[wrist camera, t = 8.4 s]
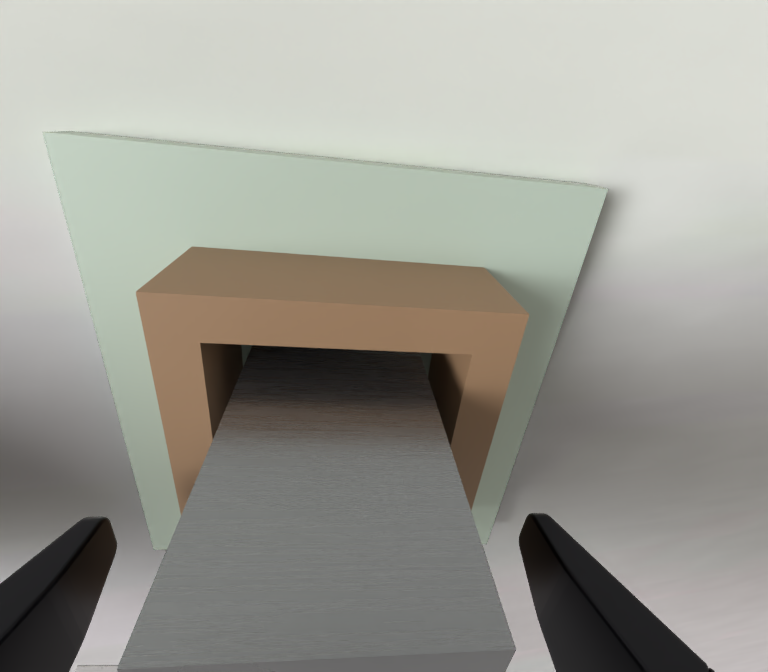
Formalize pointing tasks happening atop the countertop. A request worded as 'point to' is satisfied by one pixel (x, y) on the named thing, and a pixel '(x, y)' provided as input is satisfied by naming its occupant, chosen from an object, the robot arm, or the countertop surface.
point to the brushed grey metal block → (325, 532)
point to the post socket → (314, 288)
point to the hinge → (96, 669)
